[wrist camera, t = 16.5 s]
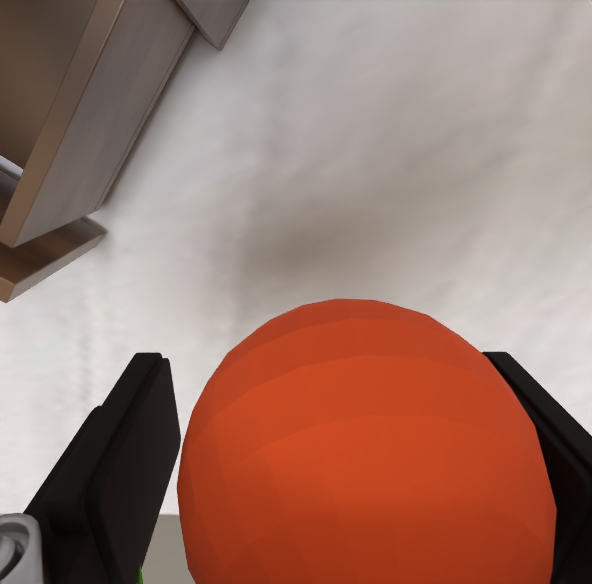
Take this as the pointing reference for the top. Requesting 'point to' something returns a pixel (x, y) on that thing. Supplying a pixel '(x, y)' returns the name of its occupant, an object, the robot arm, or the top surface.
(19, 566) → the robot arm
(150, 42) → the drawer
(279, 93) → the top surface
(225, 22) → the cabinet
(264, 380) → the clementine
